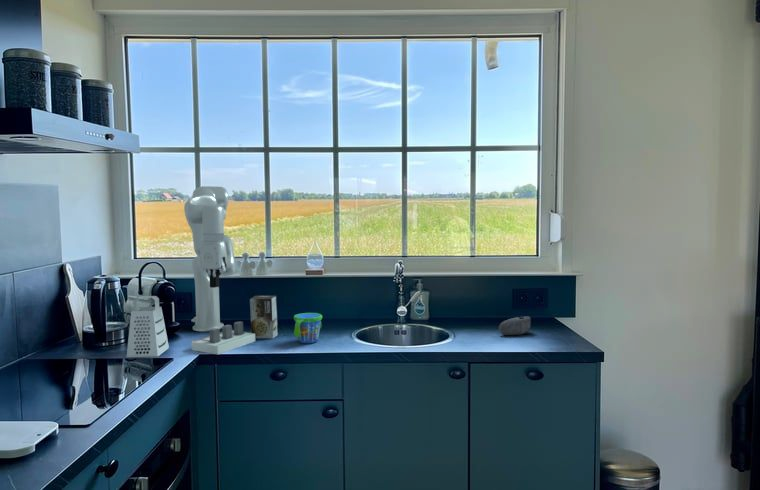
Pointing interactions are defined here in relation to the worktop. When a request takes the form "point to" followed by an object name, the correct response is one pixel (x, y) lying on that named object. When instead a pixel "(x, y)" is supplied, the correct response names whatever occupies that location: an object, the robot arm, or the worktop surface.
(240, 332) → the gray rectangular block
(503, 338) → the worktop surface
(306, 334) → the snack cup
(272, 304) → the coffee box
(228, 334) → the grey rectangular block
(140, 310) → the grater
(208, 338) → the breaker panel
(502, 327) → the perforated stone tool
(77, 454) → the worktop surface
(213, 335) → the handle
